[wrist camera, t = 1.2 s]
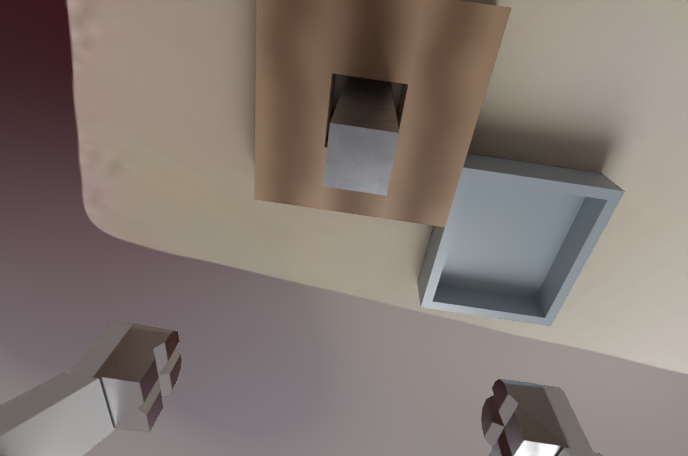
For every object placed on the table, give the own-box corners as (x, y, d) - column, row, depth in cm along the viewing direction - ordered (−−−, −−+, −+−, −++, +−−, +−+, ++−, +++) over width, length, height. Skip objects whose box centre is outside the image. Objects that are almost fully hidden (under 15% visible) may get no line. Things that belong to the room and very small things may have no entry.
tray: (601, 173, 37) (624, 191, 33) (537, 301, 45) (550, 326, 41) (455, 151, 37) (462, 167, 33) (417, 283, 45) (420, 307, 41)
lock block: (496, 6, 31) (511, 7, 27) (439, 207, 40) (444, 227, 36) (270, -27, 31) (256, -30, 27) (265, 182, 40) (254, 199, 36)
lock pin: (391, 86, 34) (399, 133, 22) (383, 130, 36) (386, 195, 24) (346, 79, 34) (329, 122, 22) (341, 124, 36) (323, 186, 24)
